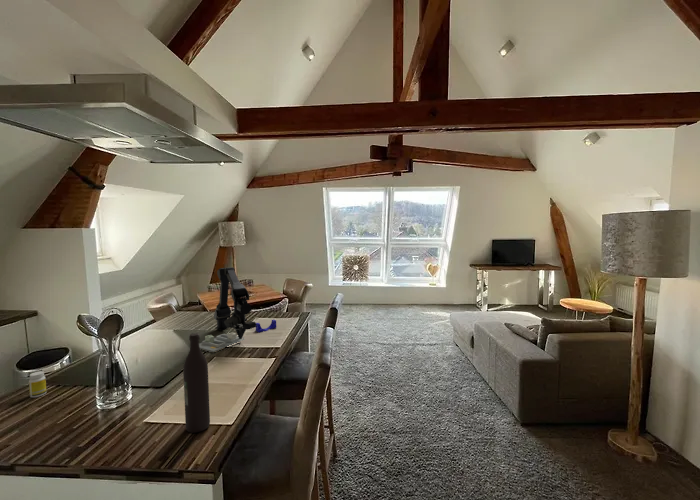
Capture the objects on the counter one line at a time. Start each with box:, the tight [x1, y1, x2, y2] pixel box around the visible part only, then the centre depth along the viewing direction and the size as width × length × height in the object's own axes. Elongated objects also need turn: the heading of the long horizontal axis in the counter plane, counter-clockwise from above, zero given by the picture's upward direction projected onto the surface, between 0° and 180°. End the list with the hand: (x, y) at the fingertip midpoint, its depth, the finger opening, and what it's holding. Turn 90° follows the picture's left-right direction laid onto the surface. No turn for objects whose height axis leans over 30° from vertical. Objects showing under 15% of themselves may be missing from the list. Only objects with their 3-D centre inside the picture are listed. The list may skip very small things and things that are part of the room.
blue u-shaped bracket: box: [255, 319, 277, 333], centre depth 205 cm, size 12×4×6 cm, turn 129°
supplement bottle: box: [28, 370, 48, 398], centre depth 130 cm, size 5×5×8 cm
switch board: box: [199, 333, 245, 353], centre depth 184 cm, size 16×22×3 cm
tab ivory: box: [227, 331, 238, 340], centre depth 186 cm, size 4×3×4 cm, turn 60°
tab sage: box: [204, 334, 215, 343], centre depth 182 cm, size 4×3×4 cm, turn 60°
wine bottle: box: [182, 332, 211, 434], centre depth 107 cm, size 7×7×30 cm
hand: (240, 338), depth 183 cm, fingers closed
